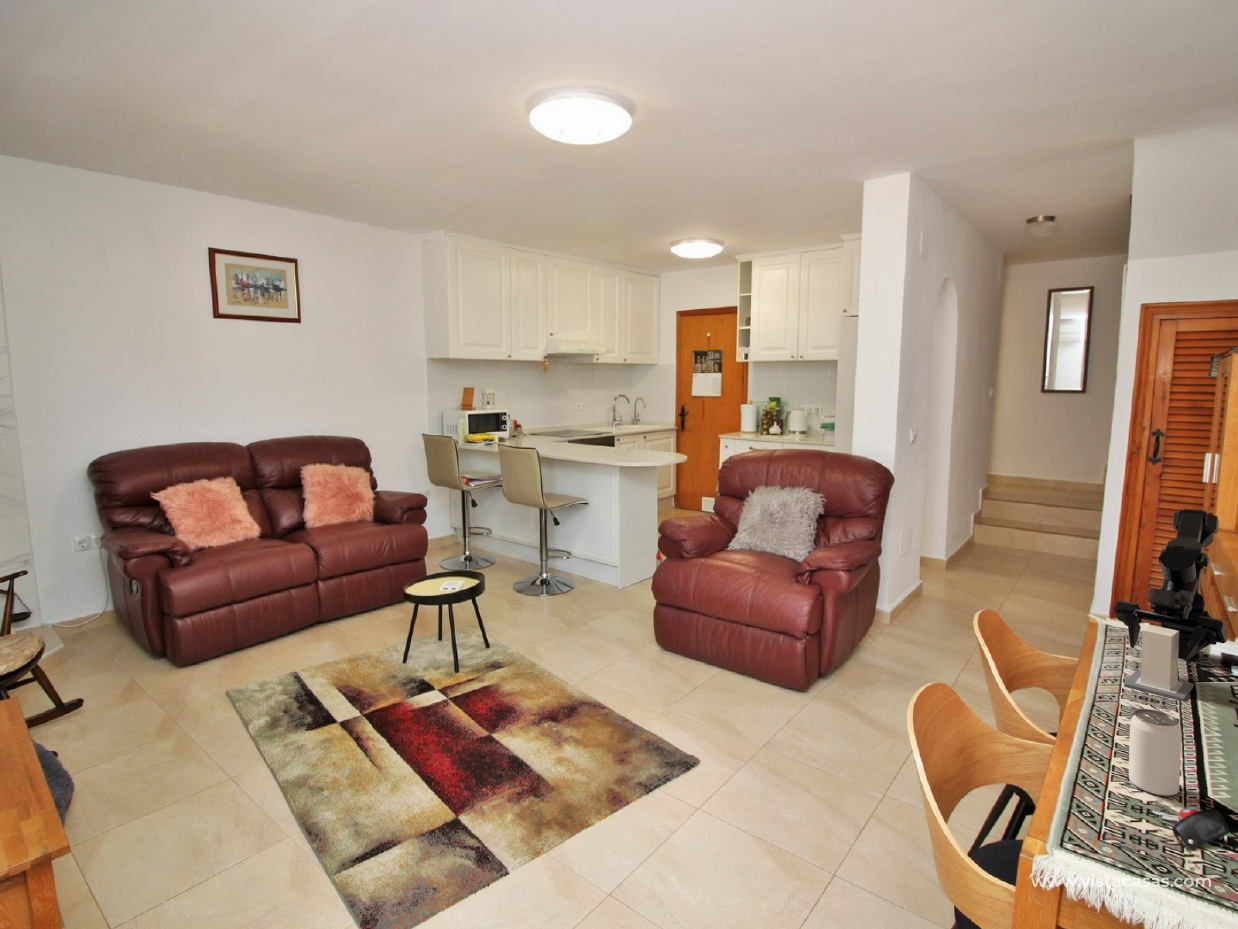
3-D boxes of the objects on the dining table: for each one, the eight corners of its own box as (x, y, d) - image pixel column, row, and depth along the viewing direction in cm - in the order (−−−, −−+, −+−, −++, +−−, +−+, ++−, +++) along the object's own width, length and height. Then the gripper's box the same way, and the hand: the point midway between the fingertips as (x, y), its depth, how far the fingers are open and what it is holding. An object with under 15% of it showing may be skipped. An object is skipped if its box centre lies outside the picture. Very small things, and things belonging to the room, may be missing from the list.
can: (1159, 774, 109) (1162, 707, 107) (1189, 798, 102) (1192, 727, 101) (1119, 774, 109) (1121, 707, 108) (1146, 797, 103) (1148, 726, 102)
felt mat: (1136, 672, 147) (1136, 669, 147) (1193, 686, 139) (1193, 683, 139) (1124, 686, 141) (1124, 683, 141) (1183, 701, 133) (1183, 698, 133)
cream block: (1148, 676, 143) (1150, 624, 142) (1177, 683, 139) (1179, 630, 138) (1140, 682, 140) (1142, 630, 139) (1169, 690, 136) (1171, 636, 135)
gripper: (1117, 566, 147) (1096, 623, 142) (1225, 582, 132) (1207, 647, 127) (1129, 592, 153) (1110, 648, 147) (1235, 611, 137) (1217, 674, 132)
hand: (1157, 653), depth 138 cm, fingers open, 9 cm apart
